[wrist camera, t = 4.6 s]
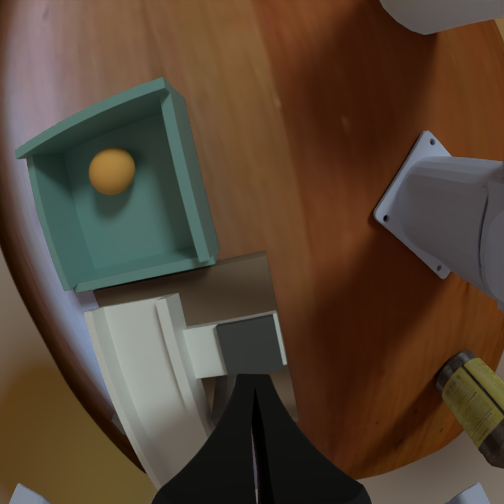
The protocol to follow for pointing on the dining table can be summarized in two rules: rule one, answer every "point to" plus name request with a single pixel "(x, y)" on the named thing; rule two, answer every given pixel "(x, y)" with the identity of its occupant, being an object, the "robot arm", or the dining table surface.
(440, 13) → the foam cup
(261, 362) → the tray
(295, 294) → the dining table surface
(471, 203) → the robot arm
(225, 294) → the stand
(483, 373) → the sauce bottle
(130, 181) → the ball
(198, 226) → the teal open box
